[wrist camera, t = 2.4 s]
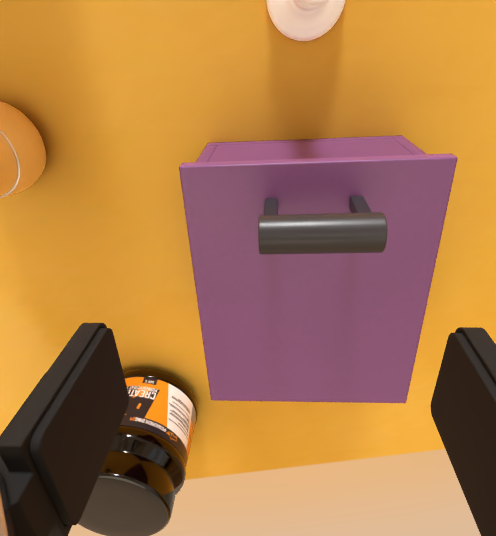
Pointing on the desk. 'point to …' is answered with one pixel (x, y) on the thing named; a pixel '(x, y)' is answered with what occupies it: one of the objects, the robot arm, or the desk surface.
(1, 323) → the desk surface
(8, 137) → the plastic bottle
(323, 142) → the box
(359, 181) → the lid
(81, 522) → the supplement container
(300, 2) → the chess piece
